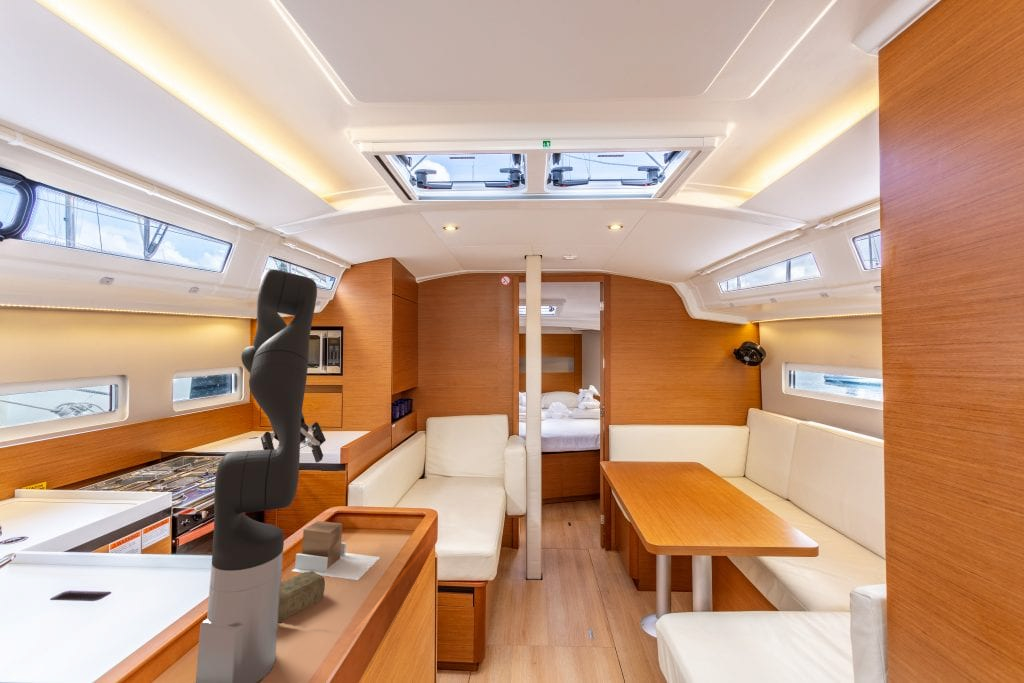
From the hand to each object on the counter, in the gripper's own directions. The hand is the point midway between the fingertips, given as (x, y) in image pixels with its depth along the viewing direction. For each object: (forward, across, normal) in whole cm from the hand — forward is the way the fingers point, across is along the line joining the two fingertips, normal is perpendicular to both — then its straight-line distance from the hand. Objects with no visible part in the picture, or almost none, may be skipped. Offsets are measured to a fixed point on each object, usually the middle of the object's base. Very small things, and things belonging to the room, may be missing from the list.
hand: (303, 465), depth 97 cm
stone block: (+28, -15, -6) cm, 33 cm away
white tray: (+24, -1, +1) cm, 24 cm away
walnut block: (+22, -2, +3) cm, 23 cm away
